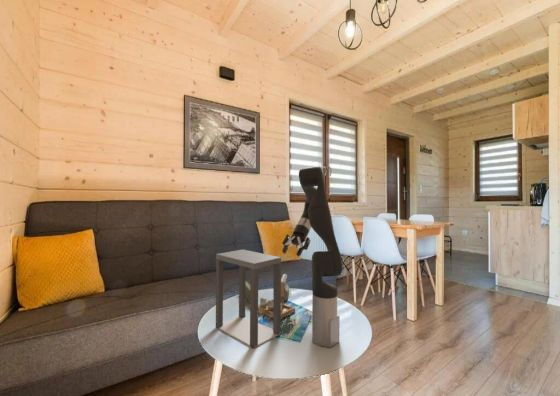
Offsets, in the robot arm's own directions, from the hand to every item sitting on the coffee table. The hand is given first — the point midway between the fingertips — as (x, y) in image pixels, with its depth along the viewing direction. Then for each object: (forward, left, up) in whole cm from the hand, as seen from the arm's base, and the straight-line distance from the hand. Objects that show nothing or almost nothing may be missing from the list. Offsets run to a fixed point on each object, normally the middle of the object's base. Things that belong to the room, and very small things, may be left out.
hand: (290, 254), depth 138 cm
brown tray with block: (-1, +12, -25) cm, 28 cm away
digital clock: (+10, -4, -25) cm, 27 cm away
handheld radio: (+18, +10, -25) cm, 33 cm away
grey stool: (-6, +33, -25) cm, 42 cm away
